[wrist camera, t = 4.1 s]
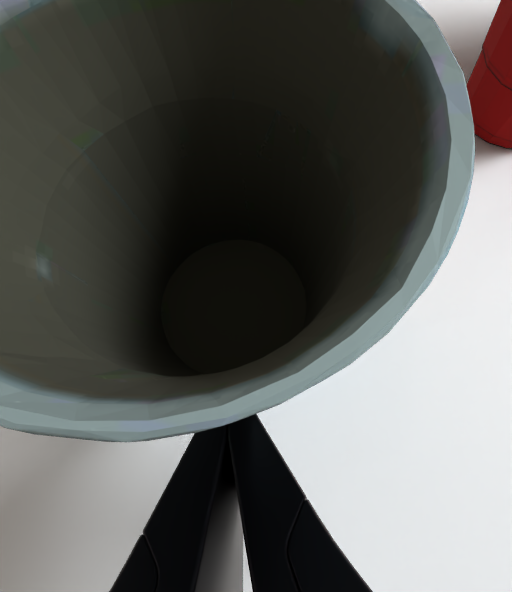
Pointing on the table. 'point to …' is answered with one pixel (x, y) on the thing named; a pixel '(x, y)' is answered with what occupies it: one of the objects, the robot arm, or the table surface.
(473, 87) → the plastic cup
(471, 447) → the table surface
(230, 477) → the robot arm
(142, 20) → the green plant pot
